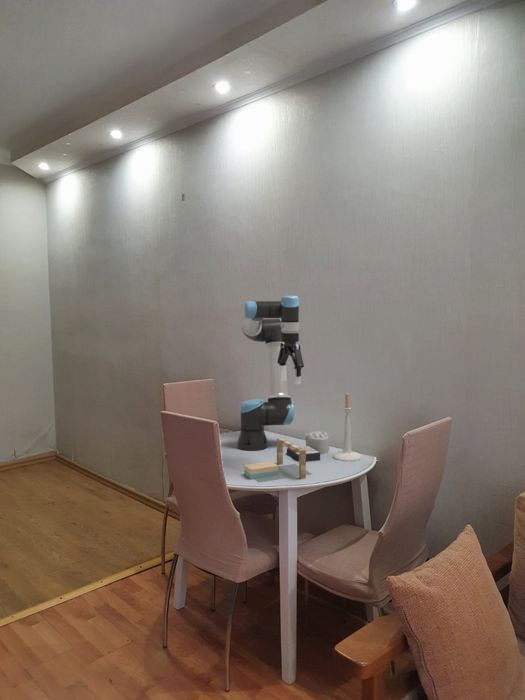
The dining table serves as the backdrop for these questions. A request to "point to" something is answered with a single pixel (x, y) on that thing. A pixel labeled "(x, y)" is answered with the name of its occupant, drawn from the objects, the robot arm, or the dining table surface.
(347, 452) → the candlestick
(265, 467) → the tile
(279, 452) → the rail
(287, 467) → the mat
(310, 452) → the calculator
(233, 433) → the dining table surface
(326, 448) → the lumpy-topped squat cylinder
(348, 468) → the dining table surface
